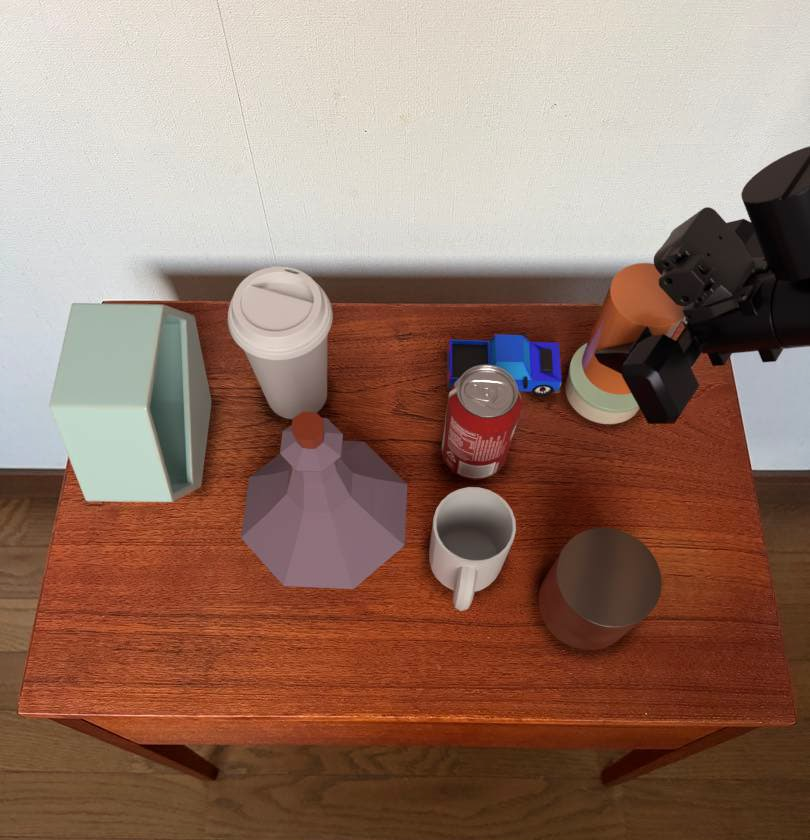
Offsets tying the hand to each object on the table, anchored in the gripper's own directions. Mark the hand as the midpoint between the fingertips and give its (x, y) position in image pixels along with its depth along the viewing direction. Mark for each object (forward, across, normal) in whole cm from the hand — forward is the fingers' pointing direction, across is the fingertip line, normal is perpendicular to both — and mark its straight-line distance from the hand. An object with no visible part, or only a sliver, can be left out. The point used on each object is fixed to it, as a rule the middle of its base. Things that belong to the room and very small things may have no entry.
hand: (616, 331), depth 66 cm
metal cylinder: (+2, +18, +18) cm, 26 cm away
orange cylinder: (+2, 0, +4) cm, 4 cm away
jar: (+9, -4, +10) cm, 14 cm away
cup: (+10, +23, +10) cm, 27 cm away
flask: (+19, +27, 0) cm, 33 cm away
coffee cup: (+28, +16, -9) cm, 33 cm away
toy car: (+16, +1, +3) cm, 17 cm away
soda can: (+14, +11, +5) cm, 19 cm away
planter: (+33, +29, -13) cm, 46 cm away
